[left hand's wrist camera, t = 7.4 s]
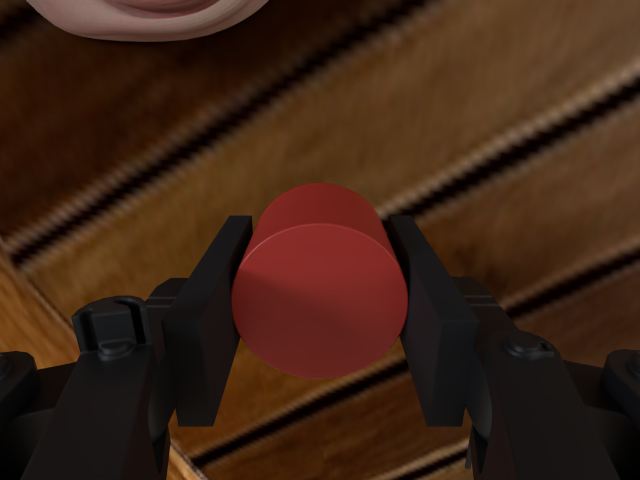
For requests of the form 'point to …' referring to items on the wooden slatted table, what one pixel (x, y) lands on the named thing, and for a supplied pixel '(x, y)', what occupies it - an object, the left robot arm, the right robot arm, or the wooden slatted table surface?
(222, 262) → the left robot arm
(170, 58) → the wooden slatted table surface
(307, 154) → the wooden slatted table surface
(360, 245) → the red cylinder
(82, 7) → the anatomical model
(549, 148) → the wooden slatted table surface
